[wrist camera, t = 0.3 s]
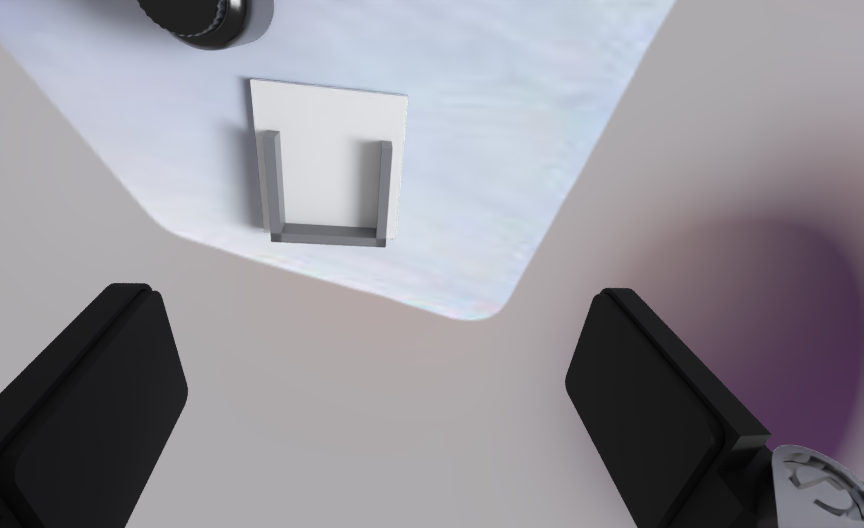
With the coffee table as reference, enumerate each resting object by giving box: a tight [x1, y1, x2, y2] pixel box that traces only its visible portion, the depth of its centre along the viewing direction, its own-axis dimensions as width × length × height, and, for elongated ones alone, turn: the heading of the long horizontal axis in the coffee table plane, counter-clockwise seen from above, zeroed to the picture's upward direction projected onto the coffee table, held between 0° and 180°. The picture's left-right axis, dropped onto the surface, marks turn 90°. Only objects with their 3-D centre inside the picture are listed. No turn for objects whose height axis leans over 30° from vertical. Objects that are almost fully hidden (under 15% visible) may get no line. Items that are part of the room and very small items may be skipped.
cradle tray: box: [250, 78, 408, 247], centre depth 40 cm, size 15×14×4 cm
